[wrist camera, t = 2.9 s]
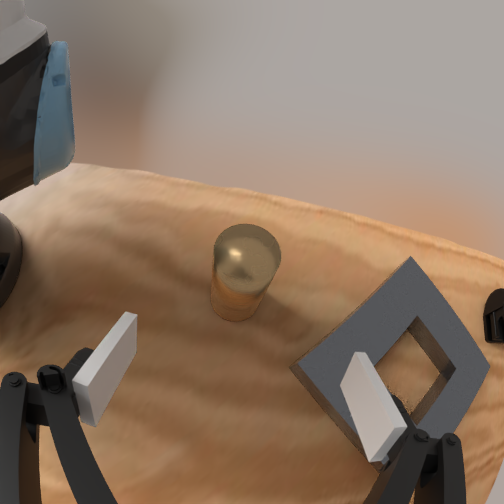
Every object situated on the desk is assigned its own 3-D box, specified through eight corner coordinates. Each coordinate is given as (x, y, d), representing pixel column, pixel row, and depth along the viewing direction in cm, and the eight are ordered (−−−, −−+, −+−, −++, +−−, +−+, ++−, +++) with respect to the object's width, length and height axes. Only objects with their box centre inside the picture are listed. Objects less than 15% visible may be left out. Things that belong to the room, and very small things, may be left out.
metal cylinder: (201, 292, 30) (200, 243, 22) (239, 268, 32) (253, 214, 24) (229, 330, 29) (240, 296, 20) (268, 304, 31) (294, 260, 22)
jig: (288, 367, 28) (297, 363, 25) (398, 266, 36) (410, 255, 33) (392, 487, 22) (407, 491, 19) (475, 371, 30) (490, 366, 27)
